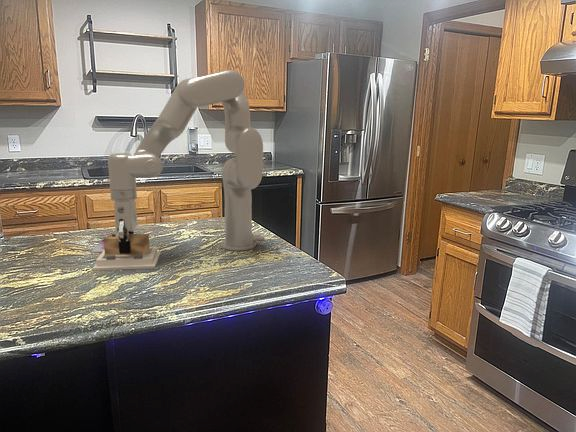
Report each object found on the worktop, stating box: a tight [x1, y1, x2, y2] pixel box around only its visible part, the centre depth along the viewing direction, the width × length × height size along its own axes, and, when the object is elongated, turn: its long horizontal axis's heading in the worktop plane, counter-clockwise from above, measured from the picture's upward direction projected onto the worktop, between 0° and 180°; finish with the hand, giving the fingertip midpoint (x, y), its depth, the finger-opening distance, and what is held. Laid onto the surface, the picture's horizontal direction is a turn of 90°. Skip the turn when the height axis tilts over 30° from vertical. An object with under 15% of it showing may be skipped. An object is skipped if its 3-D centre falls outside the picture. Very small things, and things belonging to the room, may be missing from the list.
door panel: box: [103, 232, 150, 255], centre depth 135 cm, size 12×6×6 cm, turn 91°
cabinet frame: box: [92, 246, 162, 272], centre depth 136 cm, size 18×14×4 cm
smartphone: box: [89, 239, 104, 254], centre depth 151 cm, size 7×1×15 cm
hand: (127, 249), depth 136 cm, fingers closed on door panel, 6 cm apart
